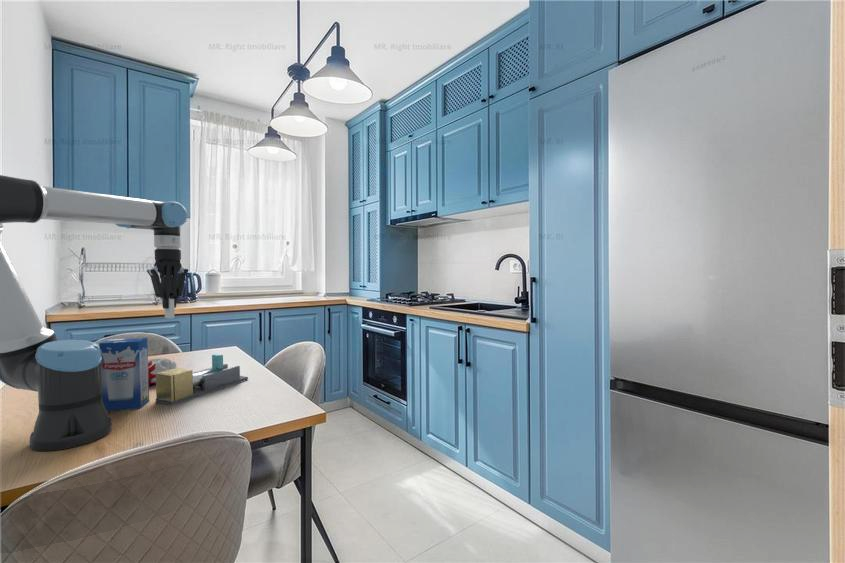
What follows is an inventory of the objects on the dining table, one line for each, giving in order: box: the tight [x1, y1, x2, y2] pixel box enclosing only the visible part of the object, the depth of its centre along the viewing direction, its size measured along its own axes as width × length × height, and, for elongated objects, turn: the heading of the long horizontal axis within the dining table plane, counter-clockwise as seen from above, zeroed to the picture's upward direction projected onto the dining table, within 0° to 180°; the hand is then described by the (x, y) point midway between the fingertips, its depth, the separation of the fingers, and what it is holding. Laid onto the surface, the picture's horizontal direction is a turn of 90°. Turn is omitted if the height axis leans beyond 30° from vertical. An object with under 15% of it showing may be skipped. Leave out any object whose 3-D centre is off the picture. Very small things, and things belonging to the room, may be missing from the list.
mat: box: [155, 375, 249, 406], centre depth 133 cm, size 29×8×1 cm, turn 157°
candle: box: [148, 357, 178, 386], centre depth 139 cm, size 9×11×15 cm
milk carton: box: [98, 337, 150, 412], centre depth 117 cm, size 10×6×20 cm, turn 105°
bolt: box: [193, 353, 224, 387], centre depth 131 cm, size 16×4×8 cm, turn 157°
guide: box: [155, 363, 241, 402], centre depth 131 cm, size 25×7×8 cm, turn 157°
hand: (169, 317), depth 133 cm, fingers closed
